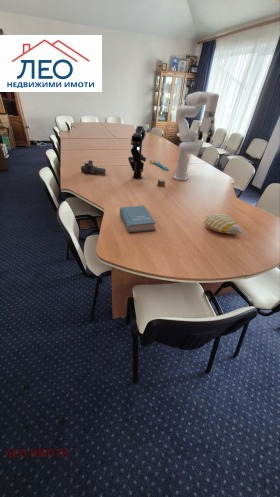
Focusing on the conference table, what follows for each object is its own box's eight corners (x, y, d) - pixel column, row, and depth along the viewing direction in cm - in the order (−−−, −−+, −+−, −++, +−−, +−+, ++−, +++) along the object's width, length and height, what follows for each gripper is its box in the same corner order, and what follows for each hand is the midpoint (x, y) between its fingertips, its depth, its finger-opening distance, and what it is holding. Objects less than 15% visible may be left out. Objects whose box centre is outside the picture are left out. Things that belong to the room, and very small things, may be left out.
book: (154, 230, 131) (155, 222, 128) (128, 232, 126) (128, 225, 124) (143, 212, 148) (143, 205, 145) (119, 214, 144) (120, 207, 141)
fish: (254, 225, 128) (232, 232, 118) (249, 236, 132) (228, 244, 123) (221, 208, 144) (199, 213, 134) (217, 218, 149) (196, 224, 139)
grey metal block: (159, 187, 188) (160, 181, 185) (157, 185, 191) (158, 179, 188) (164, 186, 190) (165, 180, 187) (162, 184, 192) (162, 179, 190)
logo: (149, 161, 250) (149, 160, 250) (157, 160, 253) (157, 160, 252) (160, 170, 225) (160, 169, 224) (168, 170, 227) (168, 169, 227)
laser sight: (102, 176, 199) (102, 165, 193) (79, 173, 202) (78, 162, 196) (106, 173, 207) (106, 162, 201) (83, 170, 210) (82, 159, 204)
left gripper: (150, 154, 169) (148, 175, 179) (140, 149, 183) (139, 168, 192) (137, 155, 165) (136, 176, 175) (128, 149, 179) (127, 169, 188)
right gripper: (221, 116, 149) (215, 143, 159) (206, 113, 162) (200, 138, 172) (212, 116, 147) (206, 143, 157) (197, 112, 159) (192, 138, 169)
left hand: (135, 172), depth 182 cm, fingers open, 9 cm apart
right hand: (203, 141), depth 164 cm, fingers open, 9 cm apart
